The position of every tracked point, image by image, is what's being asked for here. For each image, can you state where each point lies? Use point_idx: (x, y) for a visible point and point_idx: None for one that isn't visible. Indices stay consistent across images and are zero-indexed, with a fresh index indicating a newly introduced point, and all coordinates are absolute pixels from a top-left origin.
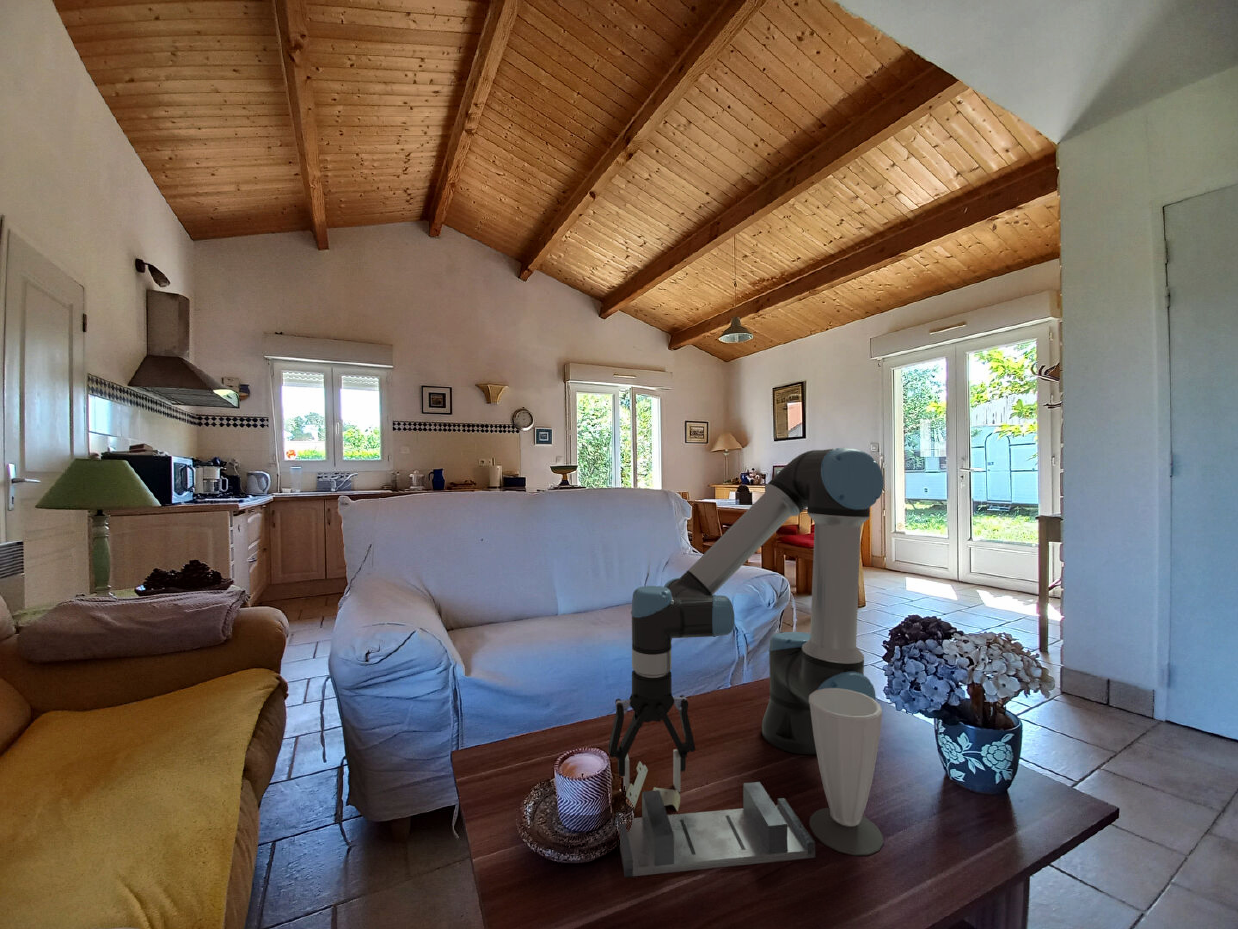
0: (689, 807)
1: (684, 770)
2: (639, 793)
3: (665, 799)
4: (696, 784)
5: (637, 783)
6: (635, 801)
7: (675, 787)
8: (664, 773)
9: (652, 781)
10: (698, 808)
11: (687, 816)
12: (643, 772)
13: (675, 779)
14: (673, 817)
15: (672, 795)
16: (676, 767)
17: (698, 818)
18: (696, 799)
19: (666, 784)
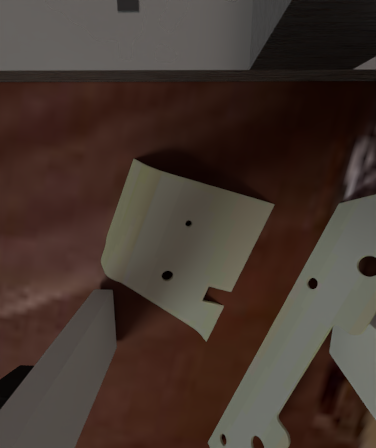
0: (71, 182)
1: (16, 370)
2: (282, 309)
3: (179, 226)
4: (16, 331)
5: (292, 355)
6: (320, 251)
7: (111, 314)
8: (142, 415)
9: (204, 376)
10: (29, 168)
11: (87, 40)
12: (237, 427)
13: (98, 338)
14: (170, 44)
15: (138, 240)
16: (54, 383)
17: (25, 12)
18: (30, 233)
19: (147, 349)
